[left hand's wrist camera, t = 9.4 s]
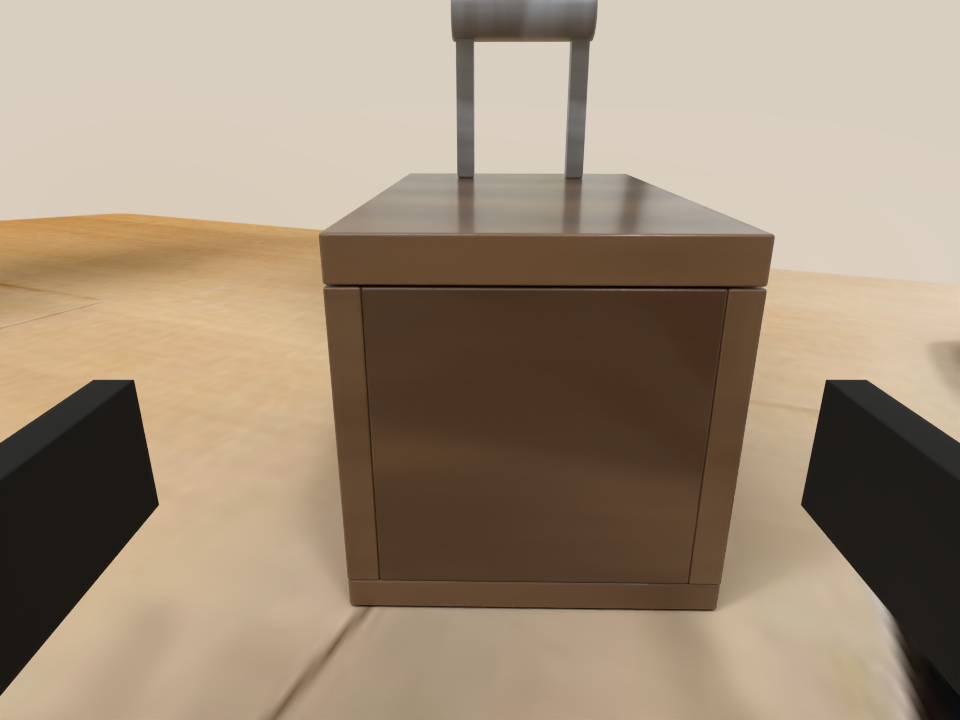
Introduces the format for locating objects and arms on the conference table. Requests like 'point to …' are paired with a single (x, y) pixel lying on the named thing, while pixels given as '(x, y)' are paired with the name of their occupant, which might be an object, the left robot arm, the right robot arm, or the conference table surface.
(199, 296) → the conference table surface
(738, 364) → the chest
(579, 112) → the lid
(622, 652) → the conference table surface
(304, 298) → the conference table surface
